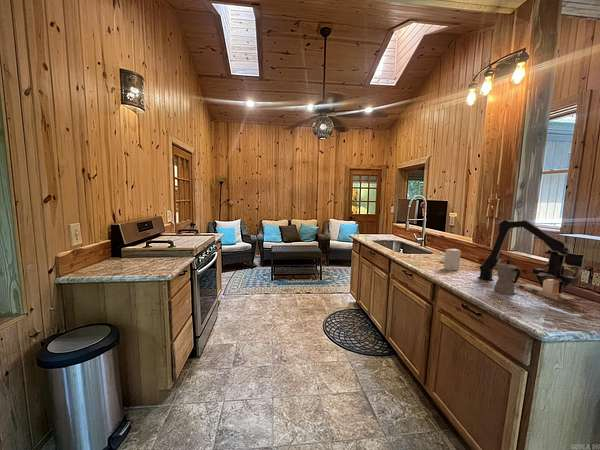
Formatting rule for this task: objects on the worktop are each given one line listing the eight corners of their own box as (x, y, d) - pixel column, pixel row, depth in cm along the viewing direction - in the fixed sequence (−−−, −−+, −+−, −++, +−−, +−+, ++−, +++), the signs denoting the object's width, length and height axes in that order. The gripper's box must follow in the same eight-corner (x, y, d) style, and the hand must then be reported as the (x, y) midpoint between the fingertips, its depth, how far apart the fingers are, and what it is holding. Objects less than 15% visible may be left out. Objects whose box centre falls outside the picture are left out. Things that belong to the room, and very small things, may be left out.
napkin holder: (462, 265, 208) (463, 258, 207) (451, 266, 204) (452, 259, 203) (445, 260, 222) (446, 253, 221) (435, 261, 217) (436, 254, 217)
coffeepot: (487, 287, 156) (491, 257, 154) (503, 288, 156) (507, 258, 154) (507, 297, 141) (512, 264, 139) (525, 298, 141) (530, 265, 139)
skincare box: (452, 268, 197) (455, 248, 195) (459, 270, 191) (461, 250, 189) (443, 268, 195) (445, 248, 193) (449, 270, 189) (451, 250, 188)
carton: (560, 294, 146) (562, 281, 145) (551, 294, 144) (553, 282, 143) (550, 291, 150) (552, 279, 149) (541, 291, 148) (543, 279, 148)
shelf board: (555, 302, 137) (555, 296, 137) (512, 287, 158) (512, 282, 158) (574, 300, 141) (575, 294, 140) (530, 285, 162) (531, 281, 161)
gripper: (587, 267, 138) (583, 296, 140) (547, 258, 156) (543, 284, 158) (572, 268, 135) (567, 297, 137) (532, 258, 153) (528, 285, 155)
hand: (551, 290), depth 147 cm, fingers open, 8 cm apart
